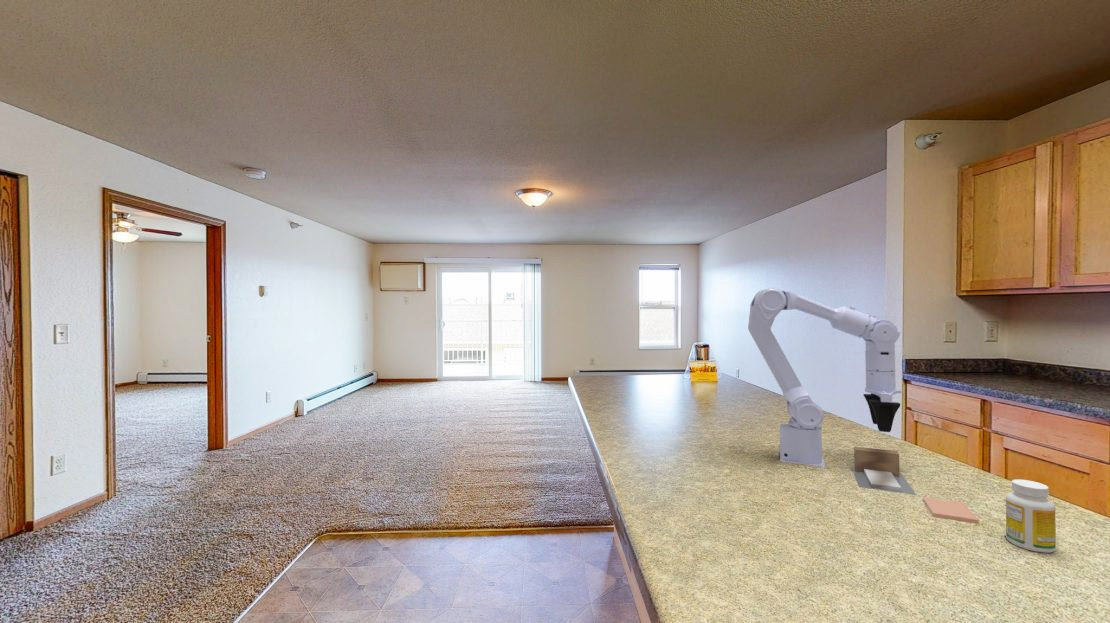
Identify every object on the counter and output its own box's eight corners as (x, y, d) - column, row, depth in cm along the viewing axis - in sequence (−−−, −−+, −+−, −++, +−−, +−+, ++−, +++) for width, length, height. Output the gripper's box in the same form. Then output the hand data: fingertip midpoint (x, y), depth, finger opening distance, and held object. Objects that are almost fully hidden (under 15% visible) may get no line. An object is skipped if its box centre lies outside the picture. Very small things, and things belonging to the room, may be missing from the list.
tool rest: (858, 489, 93) (858, 486, 93) (850, 469, 105) (850, 466, 105) (916, 497, 89) (916, 494, 89) (901, 475, 101) (901, 473, 101)
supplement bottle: (1004, 544, 71) (1002, 483, 71) (1008, 533, 74) (1007, 475, 74) (1055, 557, 67) (1053, 493, 67) (1057, 545, 70) (1055, 484, 70)
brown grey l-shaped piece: (862, 486, 93) (861, 462, 93) (854, 468, 104) (854, 446, 104) (910, 492, 90) (910, 467, 90) (897, 473, 100) (896, 451, 101)
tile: (922, 505, 86) (933, 522, 79) (922, 496, 86) (933, 513, 79) (963, 511, 83) (978, 530, 76) (963, 502, 83) (978, 519, 76)
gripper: (908, 374, 98) (909, 437, 98) (894, 367, 111) (895, 422, 111) (869, 373, 101) (870, 433, 101) (860, 366, 114) (861, 419, 114)
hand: (881, 427), depth 106 cm, fingers open, 7 cm apart
